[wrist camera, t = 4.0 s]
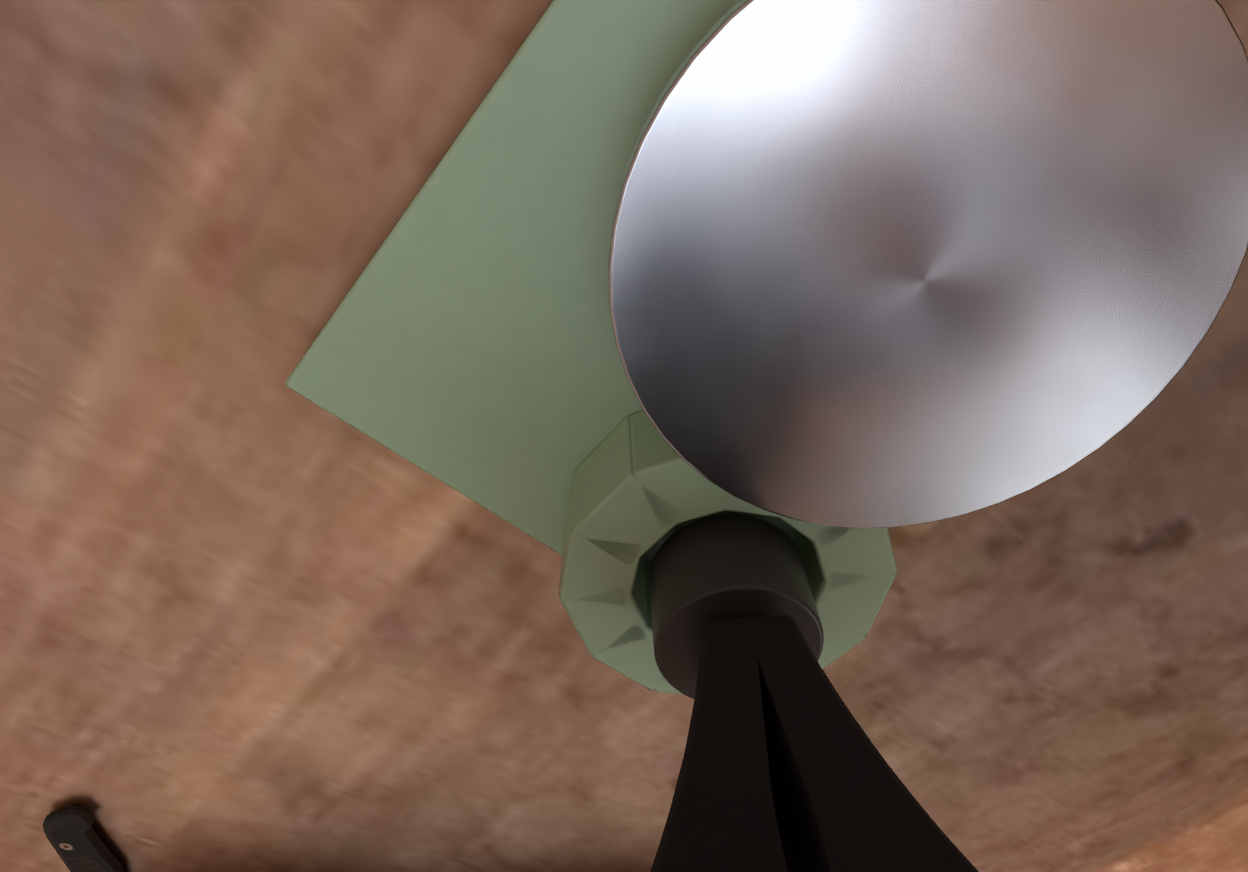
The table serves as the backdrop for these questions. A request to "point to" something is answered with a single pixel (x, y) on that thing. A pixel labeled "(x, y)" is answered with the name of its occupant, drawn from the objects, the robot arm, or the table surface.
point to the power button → (724, 588)
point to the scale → (553, 337)
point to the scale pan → (926, 243)
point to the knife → (78, 841)
